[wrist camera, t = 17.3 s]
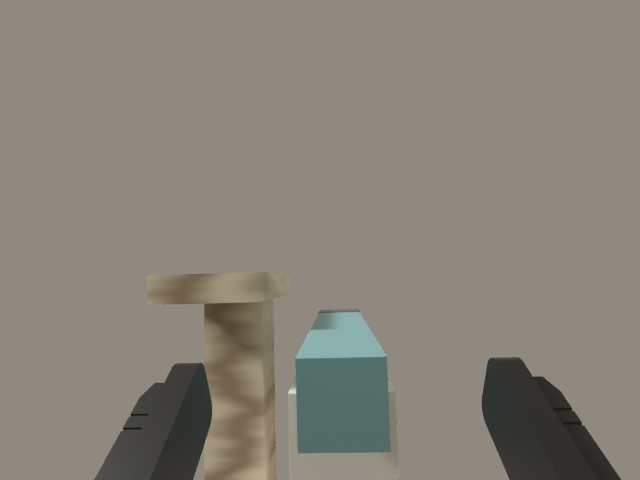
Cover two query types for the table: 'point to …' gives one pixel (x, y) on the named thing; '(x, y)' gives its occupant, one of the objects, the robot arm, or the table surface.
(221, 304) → the beige wooden column stand
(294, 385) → the base pedestal
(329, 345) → the teal bar
